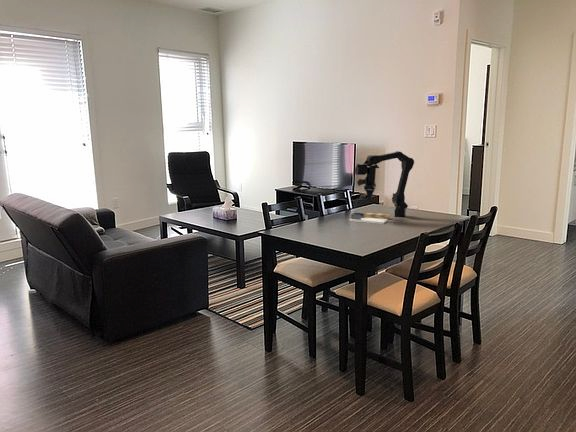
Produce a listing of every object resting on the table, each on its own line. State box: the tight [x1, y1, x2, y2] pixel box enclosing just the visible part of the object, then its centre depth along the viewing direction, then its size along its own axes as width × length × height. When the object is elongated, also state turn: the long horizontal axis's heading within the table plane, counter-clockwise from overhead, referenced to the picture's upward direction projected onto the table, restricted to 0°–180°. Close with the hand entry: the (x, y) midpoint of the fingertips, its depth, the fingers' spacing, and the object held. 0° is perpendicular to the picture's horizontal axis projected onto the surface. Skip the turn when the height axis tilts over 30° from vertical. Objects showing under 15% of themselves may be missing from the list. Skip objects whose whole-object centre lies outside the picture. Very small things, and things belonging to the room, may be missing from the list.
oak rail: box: [362, 212, 391, 220], centre depth 305 cm, size 18×4×3 cm, turn 62°
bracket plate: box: [349, 212, 388, 225], centre depth 295 cm, size 22×9×4 cm, turn 63°
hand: (369, 199), depth 301 cm, fingers open, 9 cm apart
